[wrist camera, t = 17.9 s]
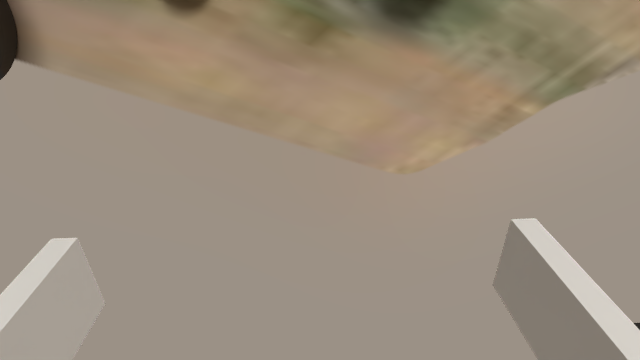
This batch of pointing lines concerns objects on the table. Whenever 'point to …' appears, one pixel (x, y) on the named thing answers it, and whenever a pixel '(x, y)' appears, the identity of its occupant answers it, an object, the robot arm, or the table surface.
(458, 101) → the table surface
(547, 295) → the robot arm
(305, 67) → the table surface
